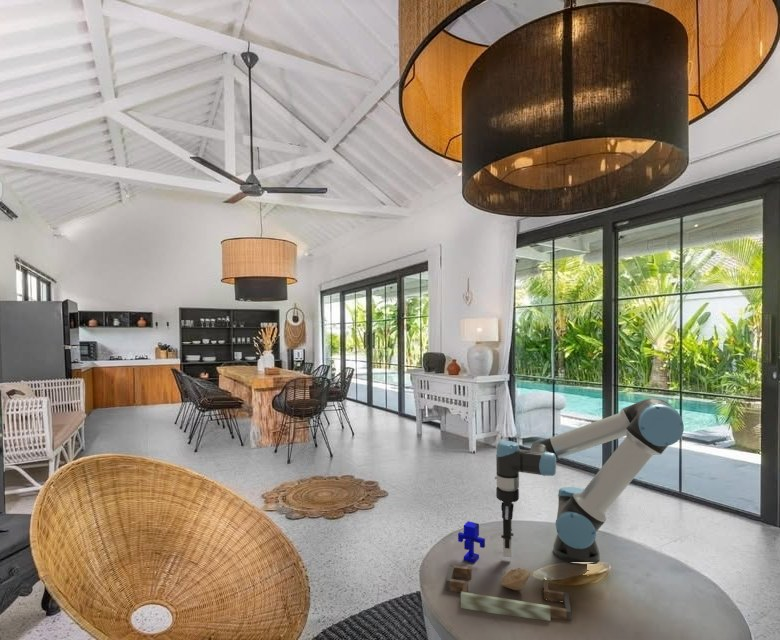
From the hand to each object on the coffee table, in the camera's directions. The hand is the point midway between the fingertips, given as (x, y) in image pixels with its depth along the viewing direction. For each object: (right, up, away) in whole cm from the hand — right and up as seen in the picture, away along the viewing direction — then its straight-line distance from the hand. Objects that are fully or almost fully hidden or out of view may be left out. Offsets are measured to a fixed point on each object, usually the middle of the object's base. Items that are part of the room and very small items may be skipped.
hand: (507, 555), depth 159 cm
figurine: (-12, -2, +1) cm, 12 cm away
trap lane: (-6, -1, -21) cm, 22 cm away
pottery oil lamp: (-2, -2, -16) cm, 17 cm away
